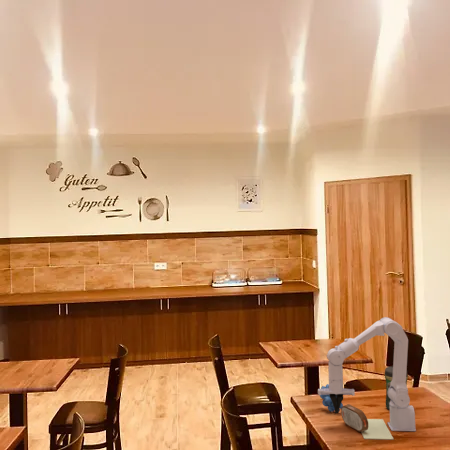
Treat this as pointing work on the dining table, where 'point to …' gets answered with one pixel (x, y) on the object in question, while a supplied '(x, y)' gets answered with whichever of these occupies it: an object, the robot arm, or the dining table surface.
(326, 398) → the grapes
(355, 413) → the tin
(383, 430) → the mat
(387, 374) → the coffee jar
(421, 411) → the dining table surface
